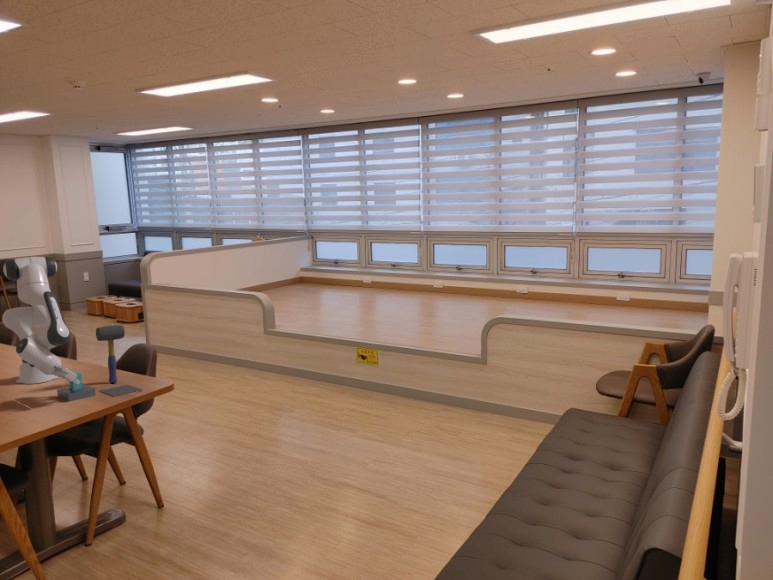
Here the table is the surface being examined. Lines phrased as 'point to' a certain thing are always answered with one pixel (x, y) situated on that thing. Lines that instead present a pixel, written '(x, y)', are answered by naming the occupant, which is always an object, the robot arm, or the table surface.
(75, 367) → the table surface
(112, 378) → the rubber mallet
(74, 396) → the socket base
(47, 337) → the robot arm
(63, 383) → the table surface
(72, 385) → the peg
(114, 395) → the pad
